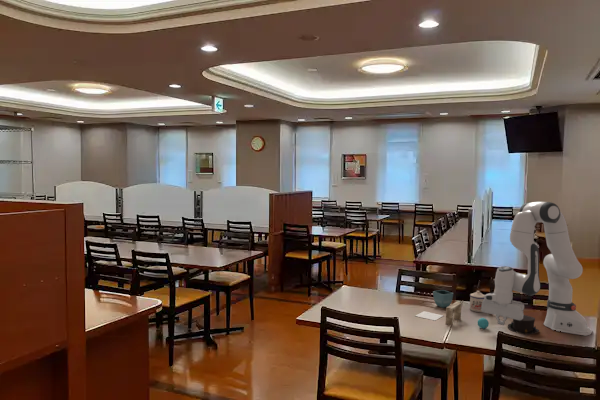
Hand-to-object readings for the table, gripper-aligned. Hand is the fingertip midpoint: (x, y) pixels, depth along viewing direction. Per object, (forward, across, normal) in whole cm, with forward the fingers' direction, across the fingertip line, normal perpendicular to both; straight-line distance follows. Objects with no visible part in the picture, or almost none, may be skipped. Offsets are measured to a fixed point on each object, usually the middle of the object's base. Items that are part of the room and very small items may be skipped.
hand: (501, 324), depth 239 cm
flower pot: (+5, +41, -24) cm, 48 cm away
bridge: (+5, +25, 0) cm, 25 cm away
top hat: (+4, -8, -13) cm, 16 cm away
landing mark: (+5, +39, 0) cm, 39 cm away
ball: (+2, +9, 0) cm, 9 cm away
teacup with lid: (+4, +22, -32) cm, 39 cm away
